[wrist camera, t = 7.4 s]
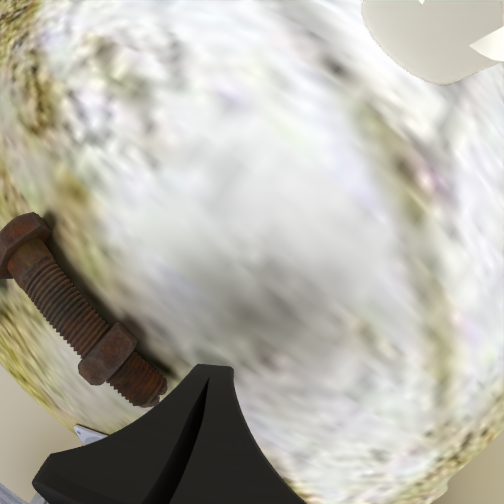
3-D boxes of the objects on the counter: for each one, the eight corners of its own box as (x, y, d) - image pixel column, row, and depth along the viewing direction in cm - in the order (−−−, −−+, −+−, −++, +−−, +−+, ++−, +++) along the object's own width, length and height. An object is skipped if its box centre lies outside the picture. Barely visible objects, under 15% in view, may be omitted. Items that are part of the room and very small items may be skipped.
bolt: (163, 370, 20) (40, 234, 18) (193, 363, 17) (45, 197, 15) (124, 423, 16) (-11, 274, 13) (146, 432, 13) (-21, 243, 10)
